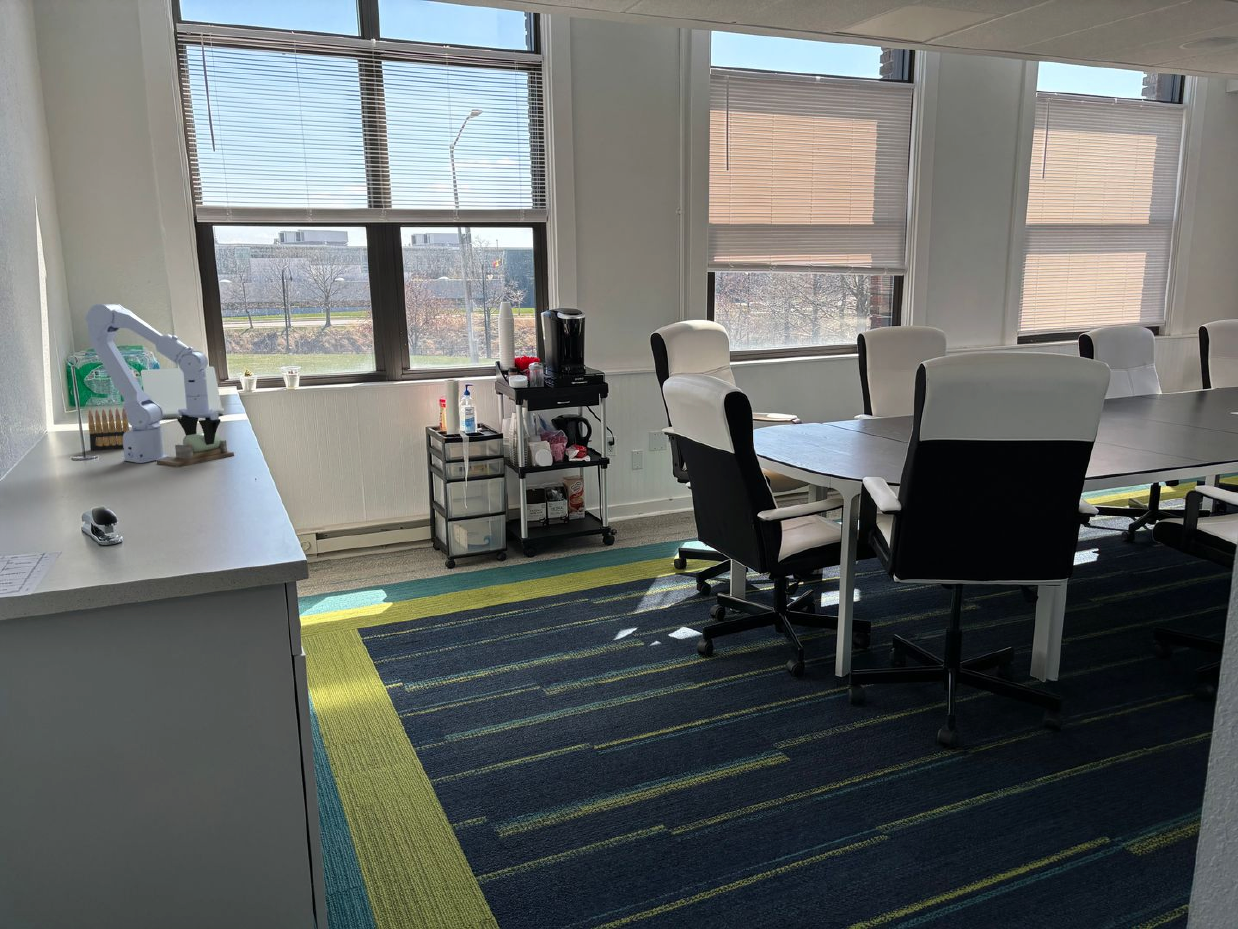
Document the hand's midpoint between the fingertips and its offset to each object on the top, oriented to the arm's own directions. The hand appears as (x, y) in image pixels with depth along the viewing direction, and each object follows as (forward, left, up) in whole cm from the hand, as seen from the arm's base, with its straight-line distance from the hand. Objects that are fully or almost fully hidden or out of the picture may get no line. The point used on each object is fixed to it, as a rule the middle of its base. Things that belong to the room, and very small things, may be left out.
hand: (201, 443), depth 258 cm
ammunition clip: (-4, +36, -5) cm, 37 cm away
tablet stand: (+50, +77, -5) cm, 92 cm away
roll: (0, 0, -2) cm, 2 cm away
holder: (-2, 0, -4) cm, 5 cm away
